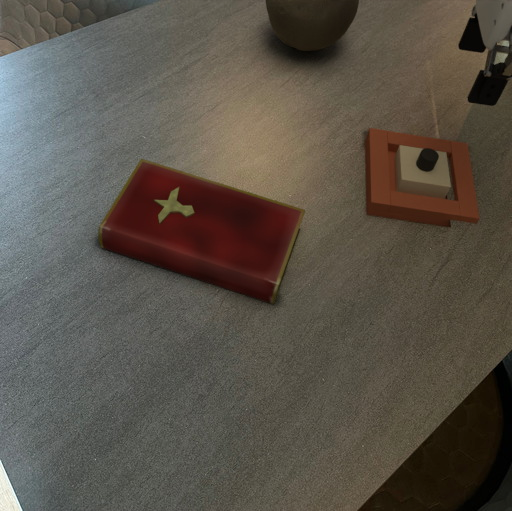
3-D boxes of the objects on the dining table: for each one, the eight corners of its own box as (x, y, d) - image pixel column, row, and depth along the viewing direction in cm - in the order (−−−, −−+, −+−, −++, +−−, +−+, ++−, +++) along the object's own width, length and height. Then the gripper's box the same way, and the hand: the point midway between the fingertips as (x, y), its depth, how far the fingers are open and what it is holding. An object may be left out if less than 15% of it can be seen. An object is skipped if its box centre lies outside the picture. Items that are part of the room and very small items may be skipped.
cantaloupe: (256, 18, 104) (268, -73, 92) (339, 24, 106) (361, -65, 94) (261, 71, 96) (275, -21, 84) (351, 77, 98) (377, -13, 86)
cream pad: (440, 165, 87) (452, 141, 83) (444, 199, 83) (457, 176, 79) (394, 158, 86) (404, 133, 83) (395, 192, 82) (406, 168, 79)
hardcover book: (272, 307, 71) (278, 286, 67) (100, 250, 72) (97, 227, 69) (299, 230, 78) (305, 208, 75) (141, 180, 80) (141, 156, 76)
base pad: (460, 155, 90) (467, 143, 88) (472, 230, 81) (479, 218, 79) (364, 140, 89) (369, 127, 87) (366, 214, 81) (371, 202, 79)
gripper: (606, -20, 54) (519, 130, 67) (565, -110, 64) (496, 36, 78) (521, -32, 54) (450, 120, 67) (493, -121, 64) (437, 27, 78)
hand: (475, 75), depth 73 cm, fingers open, 9 cm apart
